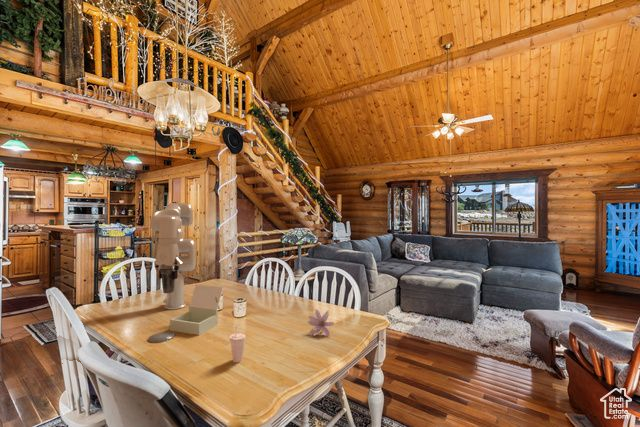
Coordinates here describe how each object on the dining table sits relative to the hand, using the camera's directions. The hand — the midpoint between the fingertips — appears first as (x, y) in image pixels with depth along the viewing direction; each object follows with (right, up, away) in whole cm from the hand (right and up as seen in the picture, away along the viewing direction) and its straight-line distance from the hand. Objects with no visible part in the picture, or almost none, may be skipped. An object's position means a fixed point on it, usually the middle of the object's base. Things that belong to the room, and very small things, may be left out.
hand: (168, 278), depth 144 cm
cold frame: (+9, -28, +12) cm, 32 cm away
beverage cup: (0, -7, 0) cm, 7 cm away
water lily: (+73, -28, +2) cm, 78 cm away
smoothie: (+40, -28, -24) cm, 55 cm away
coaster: (-2, -28, -2) cm, 28 cm away
